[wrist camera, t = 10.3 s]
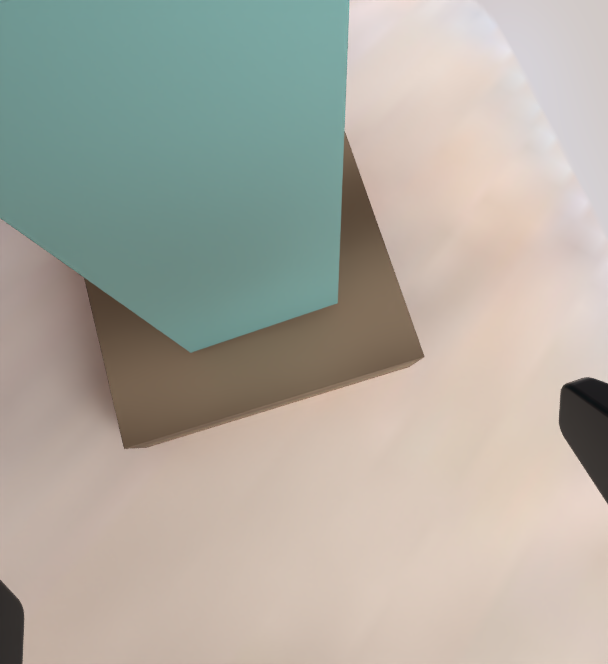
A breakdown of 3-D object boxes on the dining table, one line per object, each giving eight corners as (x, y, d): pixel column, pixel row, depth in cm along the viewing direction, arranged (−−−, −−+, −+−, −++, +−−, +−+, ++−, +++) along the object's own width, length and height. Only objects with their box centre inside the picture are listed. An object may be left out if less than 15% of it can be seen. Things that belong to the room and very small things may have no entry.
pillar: (337, 303, 17) (352, -110, 5) (190, 352, 17) (-210, 70, 4) (289, 171, 18) (195, -453, 6) (151, 217, 18) (-257, -317, 6)
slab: (406, 368, 20) (424, 356, 17) (150, 447, 20) (124, 448, 17) (327, 140, 22) (331, 94, 19) (91, 205, 22) (58, 168, 19)
